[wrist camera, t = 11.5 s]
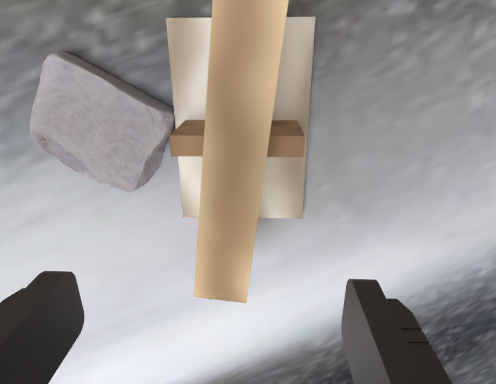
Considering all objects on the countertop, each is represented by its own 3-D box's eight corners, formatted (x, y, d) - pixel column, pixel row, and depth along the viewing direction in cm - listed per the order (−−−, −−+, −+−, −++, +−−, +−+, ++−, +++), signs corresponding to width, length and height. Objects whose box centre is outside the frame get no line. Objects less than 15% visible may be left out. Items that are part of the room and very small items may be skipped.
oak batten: (288, -23, 21) (293, -38, 17) (248, 271, 30) (246, 302, 26) (223, -31, 21) (215, -48, 17) (202, 265, 30) (193, 296, 26)
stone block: (155, 183, 37) (187, 104, 32) (136, 208, 33) (168, 123, 28) (51, 131, 36) (66, 39, 30) (18, 150, 32) (28, 49, 26)
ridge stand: (312, 18, 28) (328, 8, 22) (300, 211, 35) (310, 251, 29) (170, 19, 29) (141, 10, 22) (186, 210, 36) (168, 248, 29)
